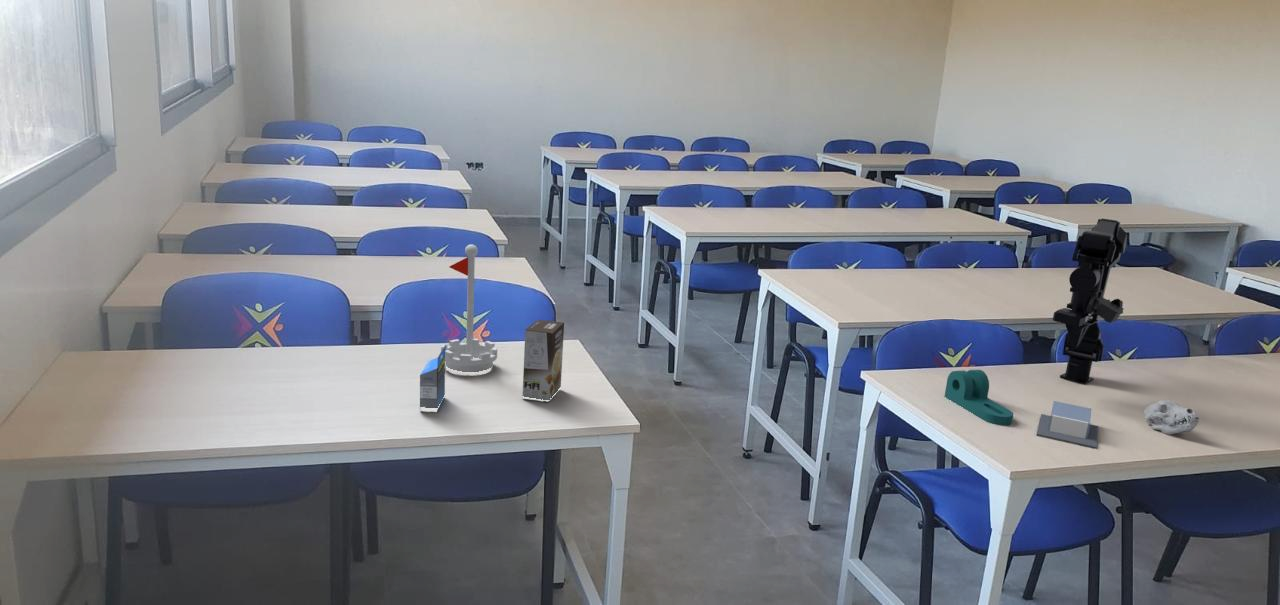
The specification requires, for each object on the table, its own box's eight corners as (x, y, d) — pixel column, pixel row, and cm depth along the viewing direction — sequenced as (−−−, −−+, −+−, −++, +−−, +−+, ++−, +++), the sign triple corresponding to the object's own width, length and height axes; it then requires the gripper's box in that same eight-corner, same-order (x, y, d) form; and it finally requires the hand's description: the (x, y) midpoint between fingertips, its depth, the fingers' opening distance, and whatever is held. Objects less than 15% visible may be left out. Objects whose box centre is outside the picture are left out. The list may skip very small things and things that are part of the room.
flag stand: (488, 357, 230) (491, 238, 222) (503, 375, 218) (507, 250, 210) (435, 361, 224) (436, 239, 216) (447, 379, 213) (449, 251, 205)
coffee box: (549, 403, 203) (552, 333, 199) (521, 399, 204) (524, 329, 200) (561, 389, 212) (564, 321, 208) (534, 385, 213) (537, 318, 209)
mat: (1040, 415, 217) (1041, 413, 217) (1097, 427, 212) (1097, 425, 212) (1036, 435, 205) (1036, 433, 204) (1096, 448, 200) (1096, 447, 199)
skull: (1158, 407, 220) (1198, 388, 210) (1170, 443, 216) (1212, 426, 206) (1131, 407, 218) (1171, 387, 207) (1144, 443, 214) (1185, 425, 203)
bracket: (944, 397, 225) (949, 366, 223) (967, 396, 227) (972, 365, 225) (993, 427, 208) (999, 394, 206) (1018, 425, 210) (1024, 392, 208)
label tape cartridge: (427, 396, 202) (428, 342, 199) (445, 397, 202) (446, 343, 199) (419, 412, 194) (419, 355, 190) (437, 413, 194) (438, 357, 191)
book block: (1053, 400, 216) (1050, 415, 206) (1091, 408, 212) (1090, 423, 203) (1050, 415, 216) (1047, 430, 207) (1088, 423, 213) (1087, 439, 203)
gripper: (1106, 297, 211) (1093, 362, 215) (1137, 287, 224) (1123, 349, 228) (1058, 286, 219) (1045, 349, 223) (1089, 277, 232) (1077, 337, 236)
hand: (1074, 346), depth 227 cm, fingers closed
